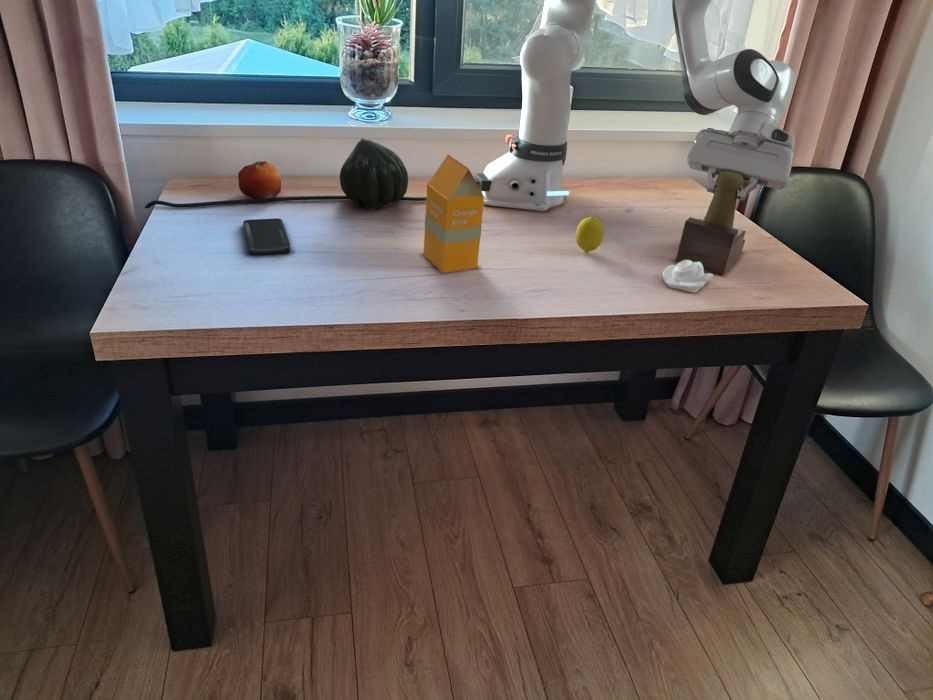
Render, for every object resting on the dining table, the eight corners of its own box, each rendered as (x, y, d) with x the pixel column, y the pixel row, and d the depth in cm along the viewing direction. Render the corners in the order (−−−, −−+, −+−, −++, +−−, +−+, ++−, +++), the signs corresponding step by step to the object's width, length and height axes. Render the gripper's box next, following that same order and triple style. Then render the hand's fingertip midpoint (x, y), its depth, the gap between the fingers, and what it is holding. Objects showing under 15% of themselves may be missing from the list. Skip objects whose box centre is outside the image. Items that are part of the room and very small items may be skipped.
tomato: (290, 197, 167) (289, 162, 163) (260, 208, 161) (258, 172, 156) (261, 187, 171) (258, 153, 167) (230, 197, 165) (227, 162, 160)
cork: (734, 231, 150) (749, 179, 144) (704, 227, 151) (717, 175, 145) (731, 221, 155) (745, 170, 150) (702, 217, 156) (715, 166, 150)
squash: (425, 189, 163) (402, 126, 163) (364, 201, 155) (340, 135, 156) (401, 213, 175) (379, 154, 176) (343, 225, 168) (321, 164, 168)
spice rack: (696, 240, 165) (706, 201, 160) (741, 252, 160) (753, 213, 156) (675, 261, 153) (685, 221, 149) (722, 275, 149) (734, 234, 145)
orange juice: (442, 273, 140) (449, 170, 130) (422, 254, 147) (427, 155, 136) (478, 267, 144) (488, 166, 133) (457, 249, 150) (465, 152, 140)
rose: (725, 274, 139) (675, 272, 138) (719, 295, 141) (670, 293, 140) (707, 252, 148) (659, 250, 147) (701, 272, 150) (655, 270, 149)
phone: (248, 250, 139) (242, 219, 151) (249, 255, 140) (243, 224, 152) (291, 247, 142) (282, 218, 154) (291, 252, 142) (282, 223, 154)
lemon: (601, 250, 156) (608, 214, 151) (596, 260, 151) (603, 223, 147) (576, 245, 157) (582, 209, 153) (570, 254, 152) (576, 218, 148)
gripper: (700, 117, 153) (674, 174, 151) (802, 138, 144) (777, 199, 142) (701, 134, 159) (676, 190, 156) (800, 156, 150) (775, 215, 148)
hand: (725, 194), depth 149 cm, fingers closed on cork, 5 cm apart
